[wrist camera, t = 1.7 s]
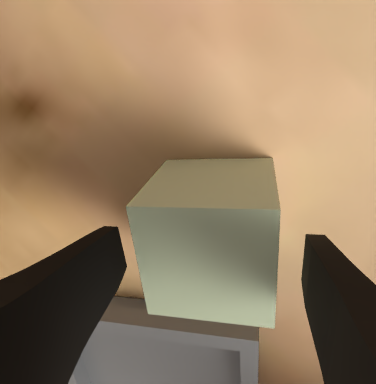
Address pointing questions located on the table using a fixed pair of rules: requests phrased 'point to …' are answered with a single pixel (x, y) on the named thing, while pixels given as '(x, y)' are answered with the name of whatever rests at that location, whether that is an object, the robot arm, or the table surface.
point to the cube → (209, 240)
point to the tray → (166, 349)
